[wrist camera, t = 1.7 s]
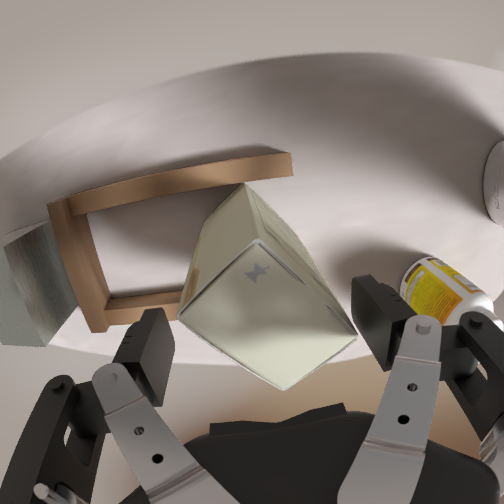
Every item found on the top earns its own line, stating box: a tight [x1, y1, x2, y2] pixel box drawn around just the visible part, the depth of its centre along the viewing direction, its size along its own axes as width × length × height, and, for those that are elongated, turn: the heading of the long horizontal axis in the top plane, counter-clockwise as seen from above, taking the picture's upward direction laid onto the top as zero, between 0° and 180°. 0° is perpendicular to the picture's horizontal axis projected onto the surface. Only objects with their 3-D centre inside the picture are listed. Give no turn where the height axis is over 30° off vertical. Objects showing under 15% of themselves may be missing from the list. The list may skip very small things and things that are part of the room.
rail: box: [47, 152, 293, 333], centre depth 20 cm, size 18×11×3 cm, turn 98°
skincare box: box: [176, 183, 358, 391], centre depth 16 cm, size 6×4×12 cm
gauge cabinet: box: [0, 219, 79, 347], centre depth 19 cm, size 6×8×7 cm
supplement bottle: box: [400, 257, 503, 364], centre depth 19 cm, size 6×6×10 cm
